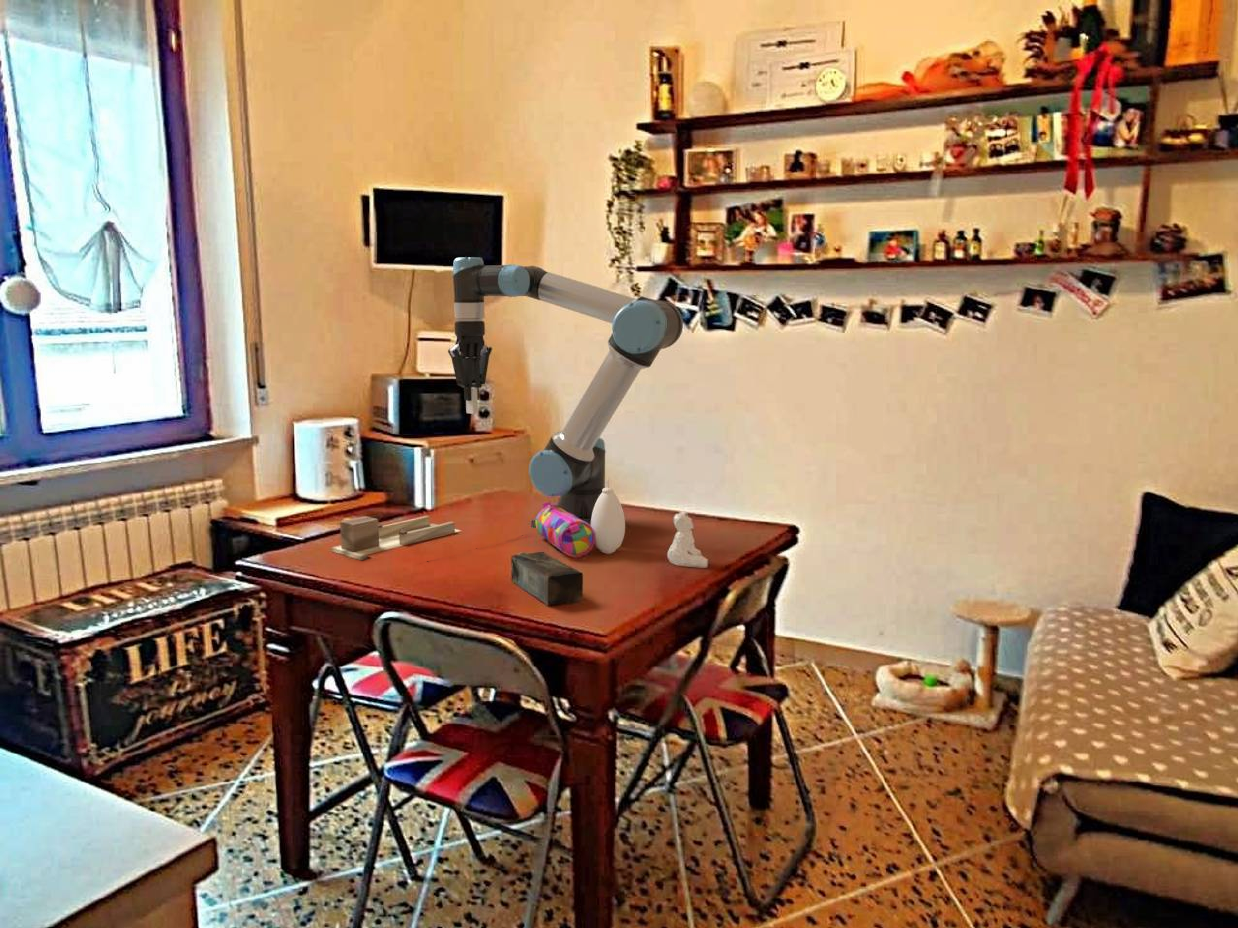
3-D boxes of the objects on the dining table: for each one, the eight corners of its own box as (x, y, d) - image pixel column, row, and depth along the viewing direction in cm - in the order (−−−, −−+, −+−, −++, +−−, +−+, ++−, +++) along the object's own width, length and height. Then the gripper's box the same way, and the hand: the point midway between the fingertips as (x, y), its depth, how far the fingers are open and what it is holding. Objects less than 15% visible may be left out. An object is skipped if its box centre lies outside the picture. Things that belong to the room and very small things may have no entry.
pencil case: (529, 538, 235) (529, 503, 233) (565, 534, 238) (565, 499, 237) (560, 561, 215) (560, 522, 213) (599, 556, 219) (598, 519, 217)
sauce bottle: (606, 546, 227) (606, 472, 224) (631, 552, 222) (631, 477, 219) (584, 553, 221) (583, 477, 218) (609, 559, 216) (609, 482, 213)
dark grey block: (544, 576, 204) (544, 547, 203) (585, 602, 187) (584, 570, 186) (510, 582, 200) (509, 552, 199) (548, 609, 184) (548, 576, 182)
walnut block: (379, 546, 223) (378, 519, 222) (353, 552, 218) (352, 524, 217) (366, 542, 227) (365, 516, 225) (341, 548, 221) (340, 521, 220)
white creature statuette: (709, 568, 210) (711, 515, 207) (671, 570, 208) (672, 517, 206) (699, 556, 219) (700, 506, 217) (662, 558, 217) (663, 507, 215)
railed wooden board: (461, 534, 238) (461, 518, 237) (360, 560, 215) (359, 542, 214) (432, 527, 245) (432, 511, 244) (331, 551, 222) (330, 534, 222)
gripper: (479, 319, 246) (481, 409, 250) (439, 320, 236) (442, 414, 240) (498, 319, 241) (500, 411, 245) (459, 321, 231) (462, 417, 235)
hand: (472, 413), depth 243 cm, fingers closed
